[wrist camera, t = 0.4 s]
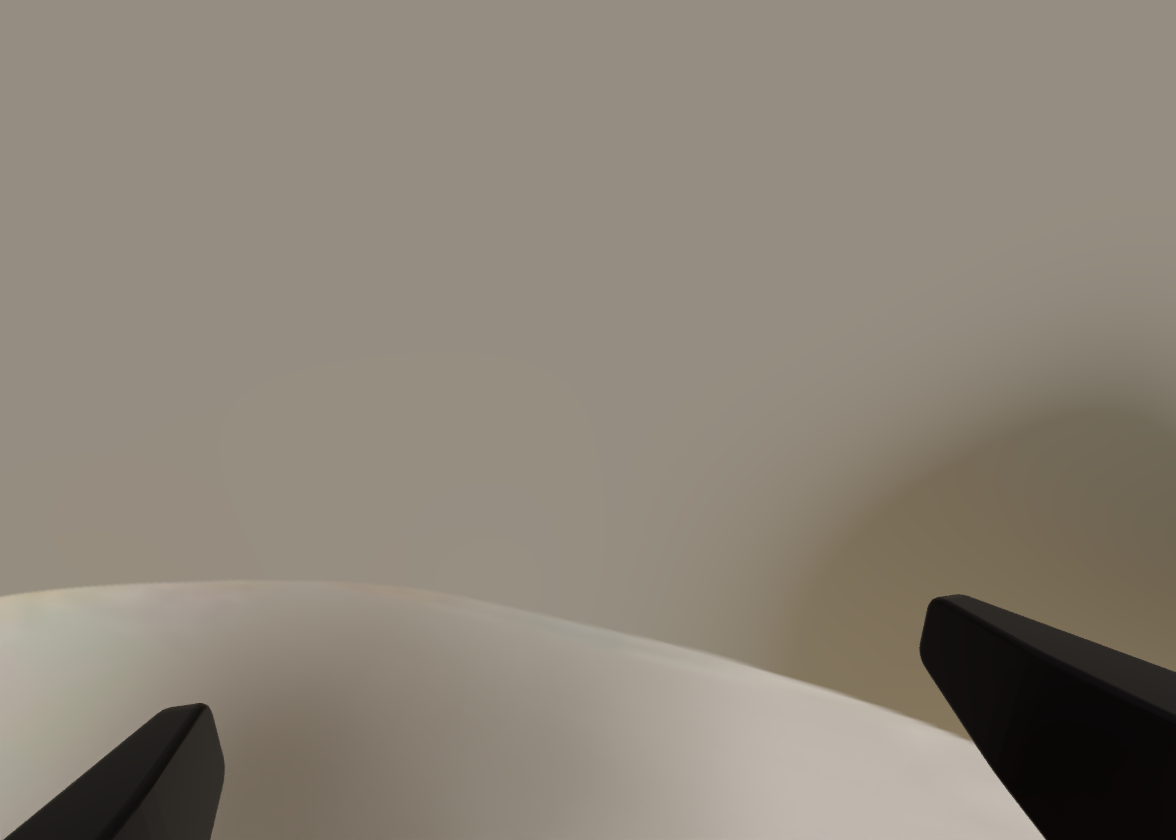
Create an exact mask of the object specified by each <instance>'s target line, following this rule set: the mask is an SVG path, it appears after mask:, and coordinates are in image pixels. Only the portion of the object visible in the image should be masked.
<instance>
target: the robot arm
mask: <svg viewBox="0 0 1176 840" xmlns="http://www.w3.org/2000/svg"><path fill="white" fill-rule="evenodd" d="M919 650H920V656H921V660H922V662H923V665H924V666H925V668H926V670H927V671H928V673H929V674H930V676H931V677H932V679H933V680H934V682H935V683H936V685H937V686H938V688H939V689H940V691H941V692H942V694H943V696H944V697H945V699H946V700H947V702H948V703H949V705H950V706H951V708H952V709H953V711H954V712H955V714H956V715H957V717H958V719H959V720H960V722H961V723H962V725H963V726H964V728H965V729H966V731H967V732H968V734H969V735H970V737H971V738H972V740H973V742H974V743H975V745H976V746H977V748H978V749H979V751H980V752H981V754H982V755H983V757H984V758H985V760H986V761H987V763H988V764H989V765H990V767H991V768H992V770H993V771H994V773H995V774H996V775H997V777H998V778H999V779H1000V781H1001V782H1002V784H1003V785H1004V786H1005V788H1006V789H1007V790H1008V792H1009V793H1010V794H1011V795H1012V797H1013V798H1014V799H1015V801H1016V802H1017V803H1018V804H1019V806H1020V807H1021V808H1022V810H1023V811H1024V812H1025V814H1026V815H1027V816H1028V817H1029V819H1030V820H1031V821H1032V823H1033V824H1034V825H1035V826H1036V828H1037V829H1038V830H1039V832H1040V833H1041V834H1042V835H1043V837H1044V838H1045V839H1046V840H1176V672H1174V671H1171V670H1168V669H1166V668H1163V667H1160V666H1158V665H1155V664H1152V663H1149V662H1147V661H1144V660H1141V659H1138V658H1136V657H1133V656H1130V655H1127V654H1125V653H1122V652H1119V651H1117V650H1114V649H1111V648H1108V647H1105V646H1103V645H1100V644H1097V643H1095V642H1092V641H1089V640H1087V639H1084V638H1081V637H1078V636H1075V635H1073V634H1070V633H1067V632H1065V631H1062V630H1059V629H1056V628H1054V627H1051V626H1048V625H1046V624H1043V623H1040V622H1037V621H1035V620H1032V619H1029V618H1026V617H1024V616H1021V615H1018V614H1015V613H1013V612H1010V611H1007V610H1005V609H1002V608H999V607H996V606H994V605H991V604H988V603H985V602H983V601H980V600H977V599H975V598H972V597H969V596H965V595H960V594H957V595H949V596H943V597H937V598H935V599H933V600H932V601H931V602H930V604H929V605H928V608H927V613H926V617H925V622H924V627H923V631H922V637H921V641H920V647H919ZM224 774H225V764H224V757H223V753H222V749H221V745H220V741H219V737H218V733H217V729H216V725H215V722H214V718H213V714H212V711H211V709H210V708H209V706H208V705H206V704H203V703H198V704H191V705H184V706H177V707H170V708H167V709H164V710H162V711H161V712H159V713H158V714H156V715H155V716H154V717H153V718H151V719H150V720H149V721H148V722H147V723H145V724H144V725H143V726H142V727H140V728H139V729H138V730H137V731H136V732H134V733H133V734H132V735H131V736H129V737H128V738H127V739H126V740H125V741H123V742H122V743H121V744H120V745H118V746H117V747H116V748H115V749H114V750H112V751H111V752H110V753H109V754H107V755H106V756H105V757H104V758H103V759H101V760H100V761H99V762H98V763H96V764H95V765H94V766H93V767H92V768H90V769H89V770H88V771H87V772H85V773H84V774H83V775H82V776H81V777H79V778H78V779H77V780H76V781H74V782H73V783H72V784H71V785H70V786H68V787H67V788H66V789H65V790H63V791H62V792H61V793H60V794H59V795H57V796H56V797H55V798H54V799H52V800H51V801H50V802H49V803H48V804H46V805H45V806H44V807H43V808H41V809H40V810H39V811H38V812H37V813H35V814H34V815H33V816H32V817H30V818H29V819H28V820H27V821H26V822H24V823H23V824H22V825H21V826H19V827H18V828H17V829H16V830H15V831H13V832H12V833H11V834H10V835H8V836H7V837H6V838H5V839H4V840H210V838H211V833H212V829H213V825H214V821H215V817H216V812H217V808H218V804H219V800H220V795H221V791H222V787H223V782H224Z"/></svg>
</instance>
